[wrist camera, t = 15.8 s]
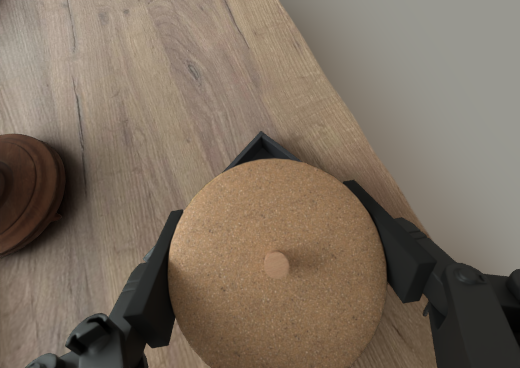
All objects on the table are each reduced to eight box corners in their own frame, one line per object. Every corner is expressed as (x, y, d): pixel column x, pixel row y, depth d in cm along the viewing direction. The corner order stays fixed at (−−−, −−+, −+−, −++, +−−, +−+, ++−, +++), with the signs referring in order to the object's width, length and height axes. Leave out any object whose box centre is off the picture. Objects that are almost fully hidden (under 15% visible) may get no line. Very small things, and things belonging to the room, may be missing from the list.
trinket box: (197, 208, 18) (129, 182, 9) (309, 174, 19) (347, 117, 10) (227, 340, 16) (172, 482, 7) (356, 297, 16) (469, 374, 7)
